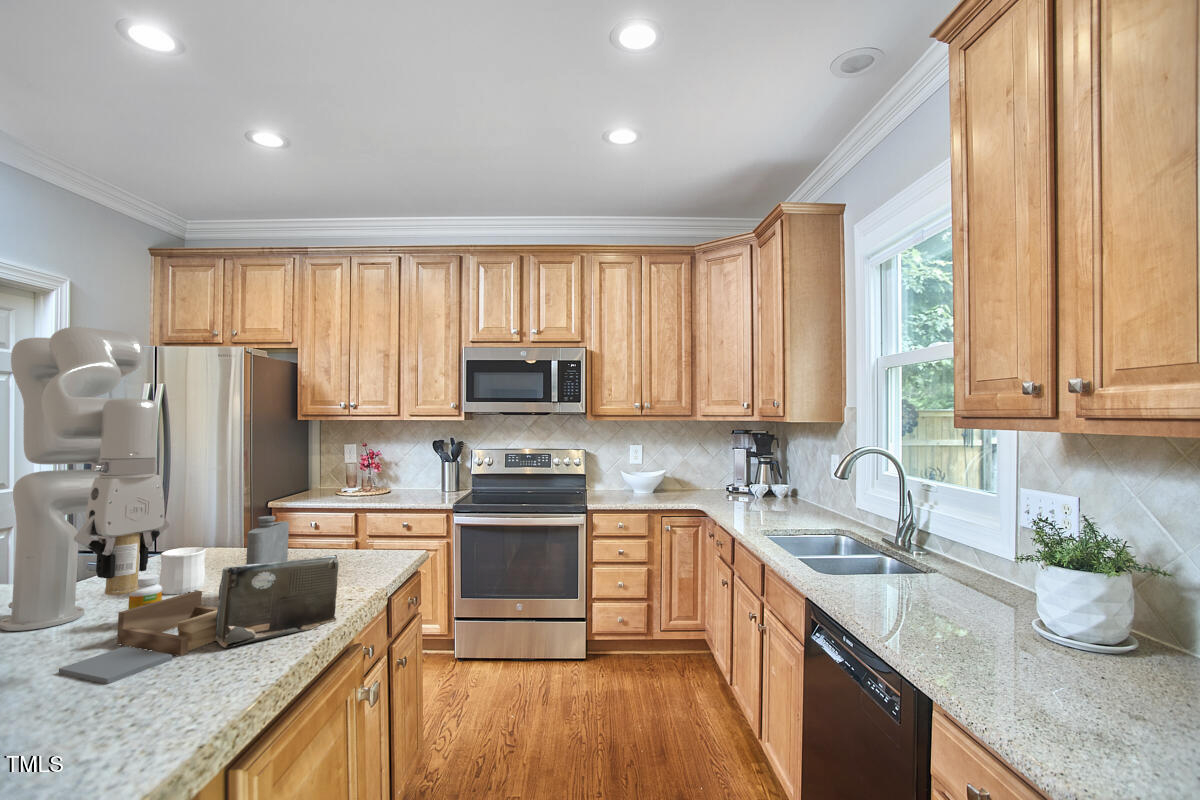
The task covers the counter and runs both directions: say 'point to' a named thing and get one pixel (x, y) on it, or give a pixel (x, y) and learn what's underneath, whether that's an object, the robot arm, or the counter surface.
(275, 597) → the radio
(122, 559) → the sprinkles bottle
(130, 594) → the supplement bottle
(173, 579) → the cup
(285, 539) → the hip flask
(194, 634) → the offcut stack
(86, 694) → the counter surface
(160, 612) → the rack
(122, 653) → the rubber mat
